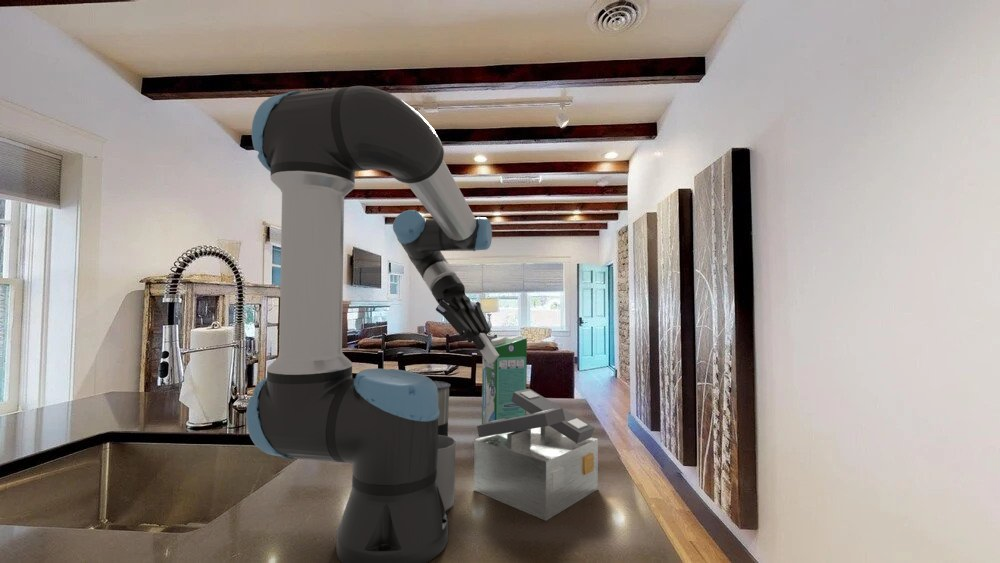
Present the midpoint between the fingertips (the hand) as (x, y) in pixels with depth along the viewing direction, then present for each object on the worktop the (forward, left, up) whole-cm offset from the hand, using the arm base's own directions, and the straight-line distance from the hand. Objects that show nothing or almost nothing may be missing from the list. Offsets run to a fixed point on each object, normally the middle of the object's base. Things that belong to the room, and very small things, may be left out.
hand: (493, 359), depth 93 cm
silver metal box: (-5, -15, -22) cm, 27 cm away
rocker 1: (-10, -16, -10) cm, 21 cm away
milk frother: (-8, +19, -22) cm, 30 cm away
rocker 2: (0, -15, -9) cm, 18 cm away
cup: (-21, -5, -22) cm, 31 cm away
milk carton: (+19, +14, -22) cm, 32 cm away
